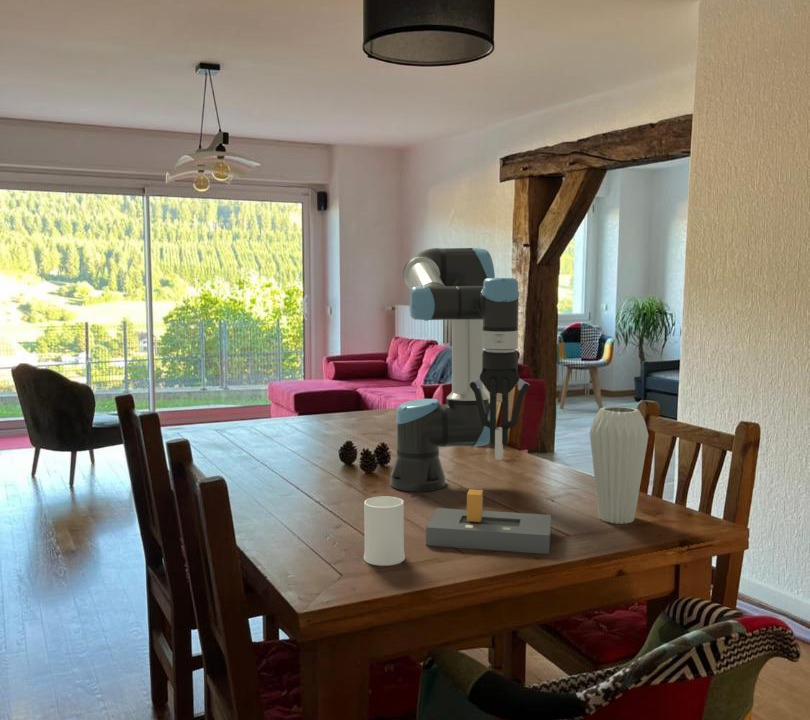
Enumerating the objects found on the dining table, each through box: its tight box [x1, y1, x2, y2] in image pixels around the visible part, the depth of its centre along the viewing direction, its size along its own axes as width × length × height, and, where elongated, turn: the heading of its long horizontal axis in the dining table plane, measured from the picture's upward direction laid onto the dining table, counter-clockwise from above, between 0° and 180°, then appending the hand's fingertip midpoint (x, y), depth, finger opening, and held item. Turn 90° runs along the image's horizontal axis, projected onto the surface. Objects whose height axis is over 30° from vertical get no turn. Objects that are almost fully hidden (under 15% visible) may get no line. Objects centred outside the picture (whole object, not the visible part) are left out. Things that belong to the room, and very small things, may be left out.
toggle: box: [466, 488, 484, 522], centre depth 174 cm, size 3×4×6 cm
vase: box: [589, 405, 650, 525], centre depth 186 cm, size 13×13×26 cm
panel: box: [425, 507, 552, 555], centre depth 174 cm, size 26×14×4 cm, turn 78°
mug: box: [363, 495, 406, 567], centre depth 163 cm, size 12×8×12 cm
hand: (498, 458), depth 172 cm, fingers closed
